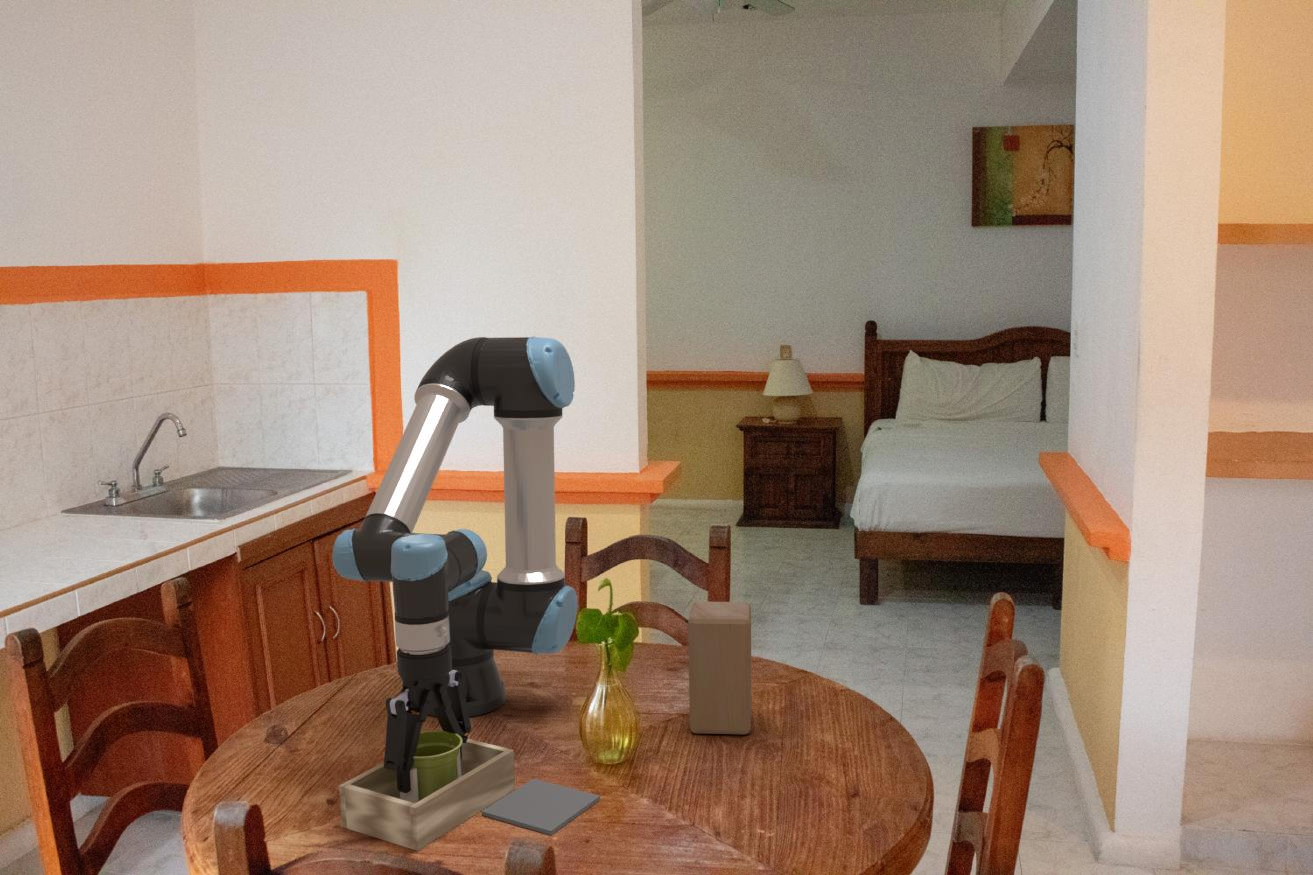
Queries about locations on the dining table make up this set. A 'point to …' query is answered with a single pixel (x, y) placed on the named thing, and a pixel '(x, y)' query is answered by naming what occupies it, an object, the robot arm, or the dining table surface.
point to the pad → (541, 806)
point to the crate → (426, 798)
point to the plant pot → (435, 760)
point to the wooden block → (720, 667)
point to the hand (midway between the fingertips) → (432, 797)
